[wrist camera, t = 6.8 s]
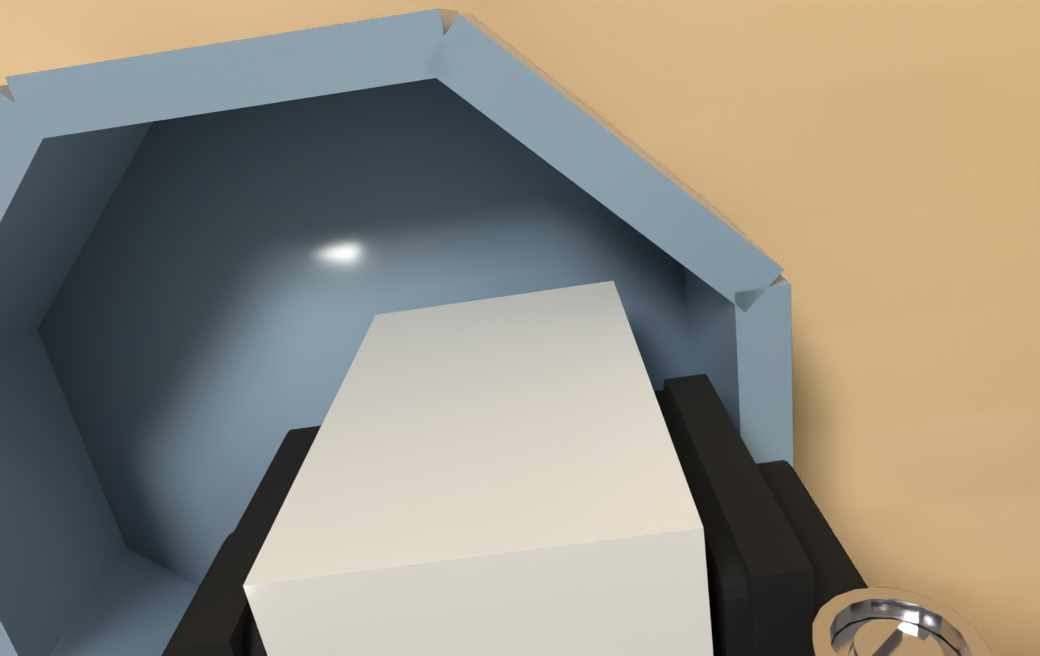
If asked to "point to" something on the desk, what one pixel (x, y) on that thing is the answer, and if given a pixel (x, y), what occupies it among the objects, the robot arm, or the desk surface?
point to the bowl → (300, 282)
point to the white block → (490, 496)
